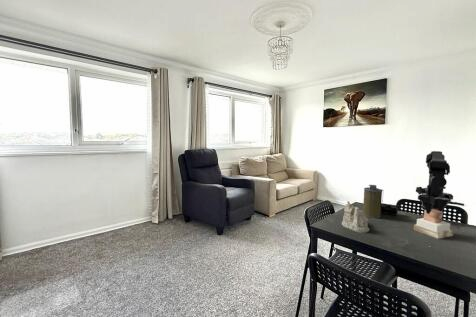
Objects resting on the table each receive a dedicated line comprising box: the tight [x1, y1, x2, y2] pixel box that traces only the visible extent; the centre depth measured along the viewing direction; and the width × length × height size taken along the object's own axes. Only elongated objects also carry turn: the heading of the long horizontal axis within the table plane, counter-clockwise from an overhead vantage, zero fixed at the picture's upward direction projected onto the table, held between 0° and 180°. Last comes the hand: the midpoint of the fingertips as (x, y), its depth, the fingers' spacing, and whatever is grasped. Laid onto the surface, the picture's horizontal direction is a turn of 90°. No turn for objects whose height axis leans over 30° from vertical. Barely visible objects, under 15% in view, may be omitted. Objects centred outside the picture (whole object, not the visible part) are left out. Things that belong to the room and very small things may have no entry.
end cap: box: [380, 202, 399, 218], centre depth 155 cm, size 10×7×7 cm
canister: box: [362, 184, 384, 219], centre depth 152 cm, size 11×10×20 cm
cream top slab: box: [416, 217, 451, 232], centre depth 126 cm, size 10×10×4 cm
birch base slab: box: [413, 223, 455, 240], centre depth 126 cm, size 12×12×4 cm
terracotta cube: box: [423, 209, 444, 223], centre depth 126 cm, size 6×6×6 cm
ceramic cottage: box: [341, 200, 370, 234], centre depth 135 cm, size 16×16×15 cm
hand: (434, 212), depth 125 cm, fingers open, 9 cm apart
